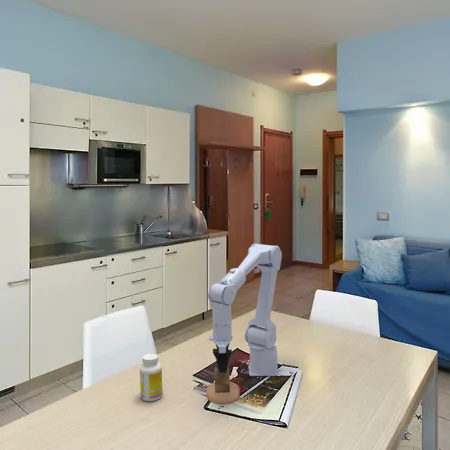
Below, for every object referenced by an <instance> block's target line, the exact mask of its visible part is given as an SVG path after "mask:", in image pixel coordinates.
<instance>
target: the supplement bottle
mask: <svg viewBox="0 0 450 450" xmlns="http://www.w3.org/2000/svg"><path fill="white" fill-rule="evenodd" d="M162 369H163V367H162V364H161V363H160V362H159V355H158V354H156V353H147V354H144V355H143V356H142V364H141V365H140V366H139V384H140V386H139V388H140V397H141V399H142V400H143V401H145V402H155V401H158V400H159V399H161V398H162V396H163V372H162V371H163V370H162Z"/></svg>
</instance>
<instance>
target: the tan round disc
mask: <svg viewBox="0 0 450 450" xmlns="http://www.w3.org/2000/svg"><path fill="white" fill-rule="evenodd" d="M206 397H207V400H208V401H209V402H211V403H212V404H213V403H214V404H217V405H228V404H232V403H234V402H237V401H238V400H239V398H240V387H239V385H238V384H236V383H235V382H232V381H230V392H225V393H215V381H214V382H212V383H210V384H209V385H207V387H206ZM238 397H239V398H238Z"/></svg>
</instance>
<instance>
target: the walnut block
mask: <svg viewBox="0 0 450 450" xmlns="http://www.w3.org/2000/svg"><path fill="white" fill-rule="evenodd" d="M230 373H231V372H230V366H227V371H226V372H219V369H218V366H217V367H214V382H215V393H225V392H230V382H231V381H230V379H231V375H230Z"/></svg>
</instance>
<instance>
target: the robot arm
mask: <svg viewBox="0 0 450 450" xmlns="http://www.w3.org/2000/svg"><path fill="white" fill-rule="evenodd" d="M282 255H283V253H282V251H281V248H280V247H279V245H271V244H270V245H269V244H261V243H252V245H250V247H249V248H248V251H247V255H246V256H245V258H244V259H243V261H242V262H241V263H240V264H239V266H238V267H235V268H234V267H233V268H230V270H229V271H228V273H227V274H225V276H224V277H222V279H221V280H220V281H218V283H217V282H216V283H214V284H212V285H211V286H210V287H209V290H208V293H207V298H208V300H209V301H210V307H211V309H212V311H211V312H212V335H210V336H209V339H208V341H210V342H211V341H212V342H213V343H214V344H215V346H216V348H213V349H212V354H213V356H214V358H215V360H216V365H217V367H218V369H219V372H226V371H227V367H229V365H228V364H229V361H230V358H231V355H232V353H233V350H232V349H229V347H230V344H231V342H232V341H233V333H232V331H233V330H232V329H233V328H232V327H233V326H232V325H233V324H232V303H234V301H235V299H236V295H237V293H238V290H239V289H240V288H241V287H242V286H243V285H244V283H245V282H246V281H247V278H246V276H247V275H248V274H249V273H250V272H251V271H253V269H255V267H258V268H259V269H260V271H261V277H260V284H259V289H258V295H257V303H256V307H255V315H254V317H253V318H251V319H250V320H248V322H247V325H246V329H245V331H244V340H245V342H246V343H247V346H248V347H249V364H248V365H247V366H248V374H249V376H250V377H271V376H272V377H274V376H279V374H278V365H279V363H278V348H277V345H276V342H277V326H276V325H275V324H274V322H273V321H272V319H271V315H272V309H273V304H274V303H273V302H274V295H275V290H276V282H277V275H278V271H280V269H281V265H282V264H281V263H282V258H283V257H282Z"/></svg>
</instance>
